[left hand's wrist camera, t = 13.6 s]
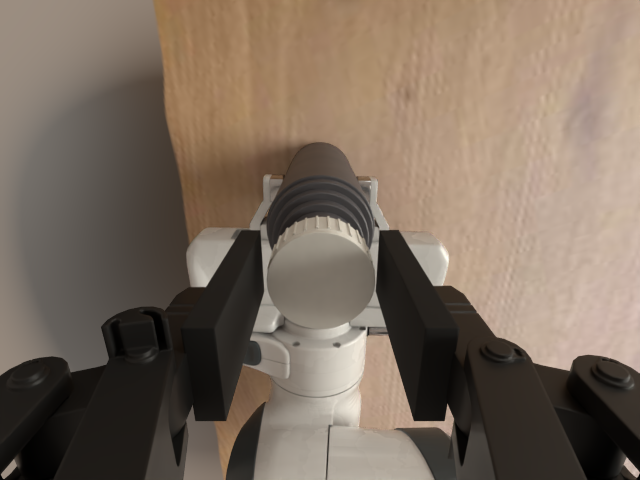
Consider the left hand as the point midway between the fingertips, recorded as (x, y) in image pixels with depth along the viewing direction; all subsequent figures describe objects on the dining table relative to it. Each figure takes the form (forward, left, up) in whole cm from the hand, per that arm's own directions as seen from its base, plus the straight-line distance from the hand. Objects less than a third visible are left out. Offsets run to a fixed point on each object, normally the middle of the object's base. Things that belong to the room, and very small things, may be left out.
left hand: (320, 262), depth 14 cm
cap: (0, 0, +1) cm, 1 cm away
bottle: (0, 0, -20) cm, 20 cm away
